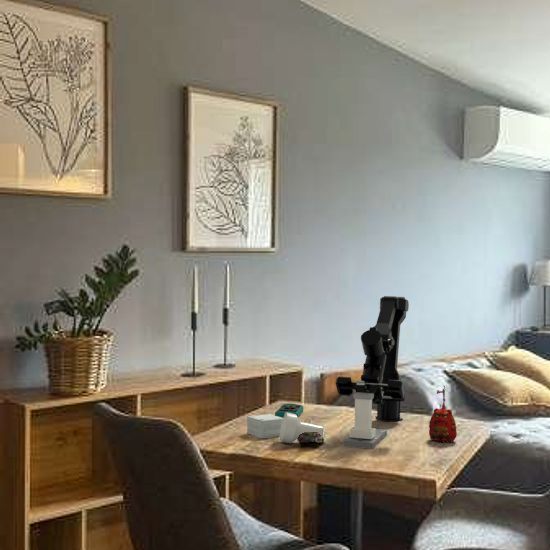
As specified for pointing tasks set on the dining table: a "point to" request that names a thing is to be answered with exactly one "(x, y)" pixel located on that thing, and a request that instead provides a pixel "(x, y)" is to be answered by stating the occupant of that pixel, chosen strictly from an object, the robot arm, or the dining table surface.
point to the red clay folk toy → (442, 424)
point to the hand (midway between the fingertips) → (364, 412)
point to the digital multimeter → (289, 410)
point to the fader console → (366, 440)
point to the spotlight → (295, 428)
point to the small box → (264, 425)
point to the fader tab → (363, 416)
